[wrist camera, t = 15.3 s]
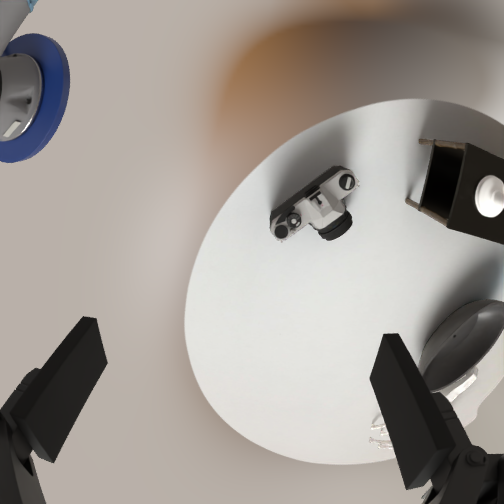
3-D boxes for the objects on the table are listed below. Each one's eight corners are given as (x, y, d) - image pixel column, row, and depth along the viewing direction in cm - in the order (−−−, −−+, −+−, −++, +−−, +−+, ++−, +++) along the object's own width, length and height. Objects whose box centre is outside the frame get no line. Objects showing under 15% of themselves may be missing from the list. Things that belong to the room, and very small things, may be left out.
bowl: (393, 358, 53) (403, 379, 48) (476, 271, 47) (494, 286, 41) (425, 381, 56) (435, 401, 50) (500, 305, 49) (516, 320, 43)
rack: (404, 202, 44) (448, 228, 31) (418, 138, 40) (468, 142, 28) (515, 236, 44) (560, 263, 32) (528, 185, 41) (577, 202, 28)
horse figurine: (385, 397, 68) (478, 363, 53) (377, 457, 56) (485, 430, 40) (375, 389, 67) (472, 352, 52) (366, 451, 55) (479, 422, 39)
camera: (296, 255, 47) (308, 279, 39) (261, 215, 45) (266, 231, 37) (364, 198, 45) (389, 210, 36) (332, 156, 43) (352, 159, 34)
